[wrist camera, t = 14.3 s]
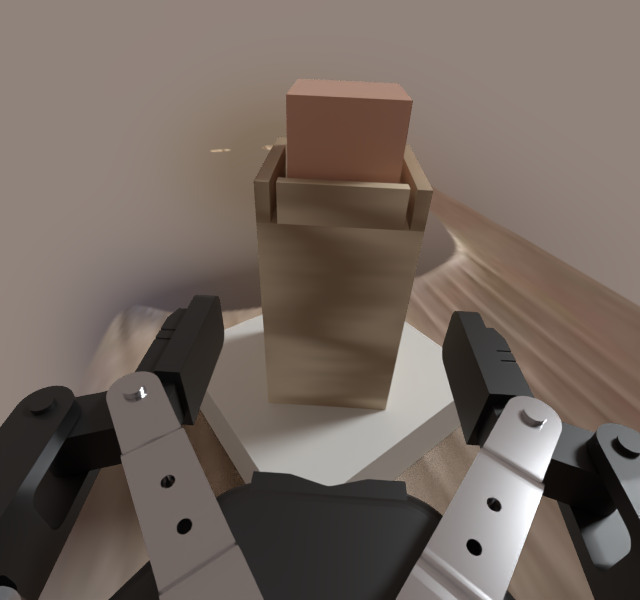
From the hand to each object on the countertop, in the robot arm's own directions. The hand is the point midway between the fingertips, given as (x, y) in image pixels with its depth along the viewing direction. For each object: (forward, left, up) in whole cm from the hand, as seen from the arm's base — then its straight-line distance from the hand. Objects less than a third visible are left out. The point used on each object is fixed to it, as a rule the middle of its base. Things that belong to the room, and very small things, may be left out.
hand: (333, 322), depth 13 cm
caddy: (-3, -4, -7) cm, 9 cm away
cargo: (-3, -4, +3) cm, 6 cm away
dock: (-3, -4, -11) cm, 13 cm away
